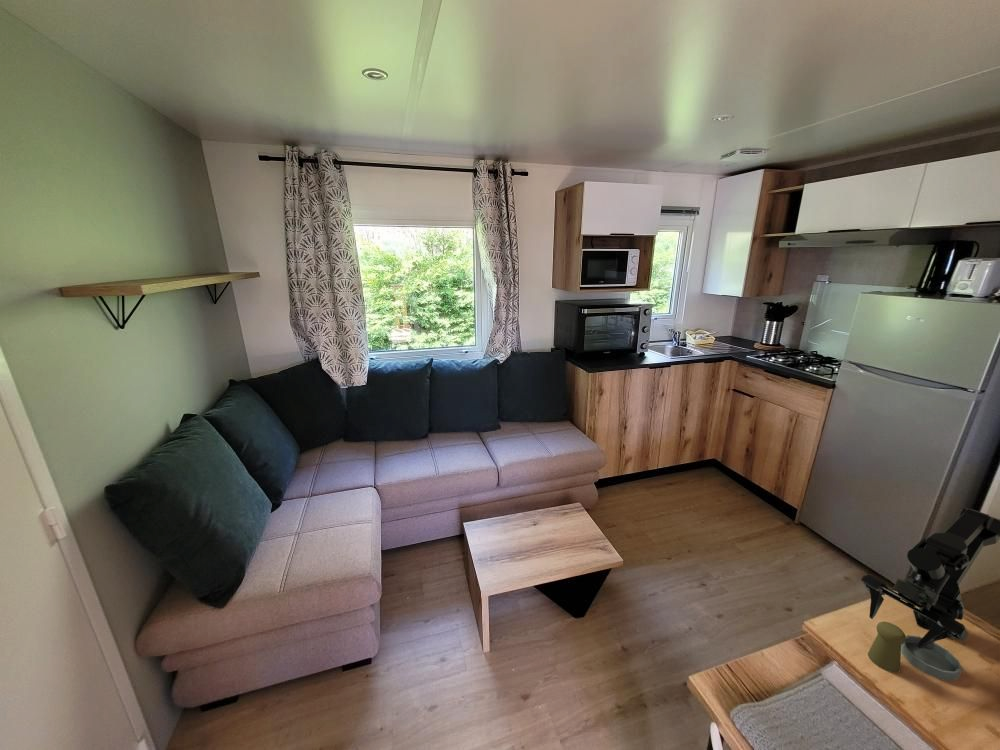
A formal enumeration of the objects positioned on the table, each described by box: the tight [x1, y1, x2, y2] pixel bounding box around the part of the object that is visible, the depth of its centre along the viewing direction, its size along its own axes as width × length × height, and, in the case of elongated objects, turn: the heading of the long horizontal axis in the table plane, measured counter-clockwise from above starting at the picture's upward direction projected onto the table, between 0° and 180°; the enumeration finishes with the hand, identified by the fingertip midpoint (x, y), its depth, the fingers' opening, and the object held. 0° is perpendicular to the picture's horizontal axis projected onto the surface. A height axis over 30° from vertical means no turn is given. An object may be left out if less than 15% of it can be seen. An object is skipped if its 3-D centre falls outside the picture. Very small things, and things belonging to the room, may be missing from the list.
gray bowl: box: [901, 634, 963, 682], centre depth 97 cm, size 10×10×2 cm
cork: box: [867, 621, 907, 674], centre depth 96 cm, size 6×6×11 cm
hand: (893, 632), depth 96 cm, fingers open, 9 cm apart
